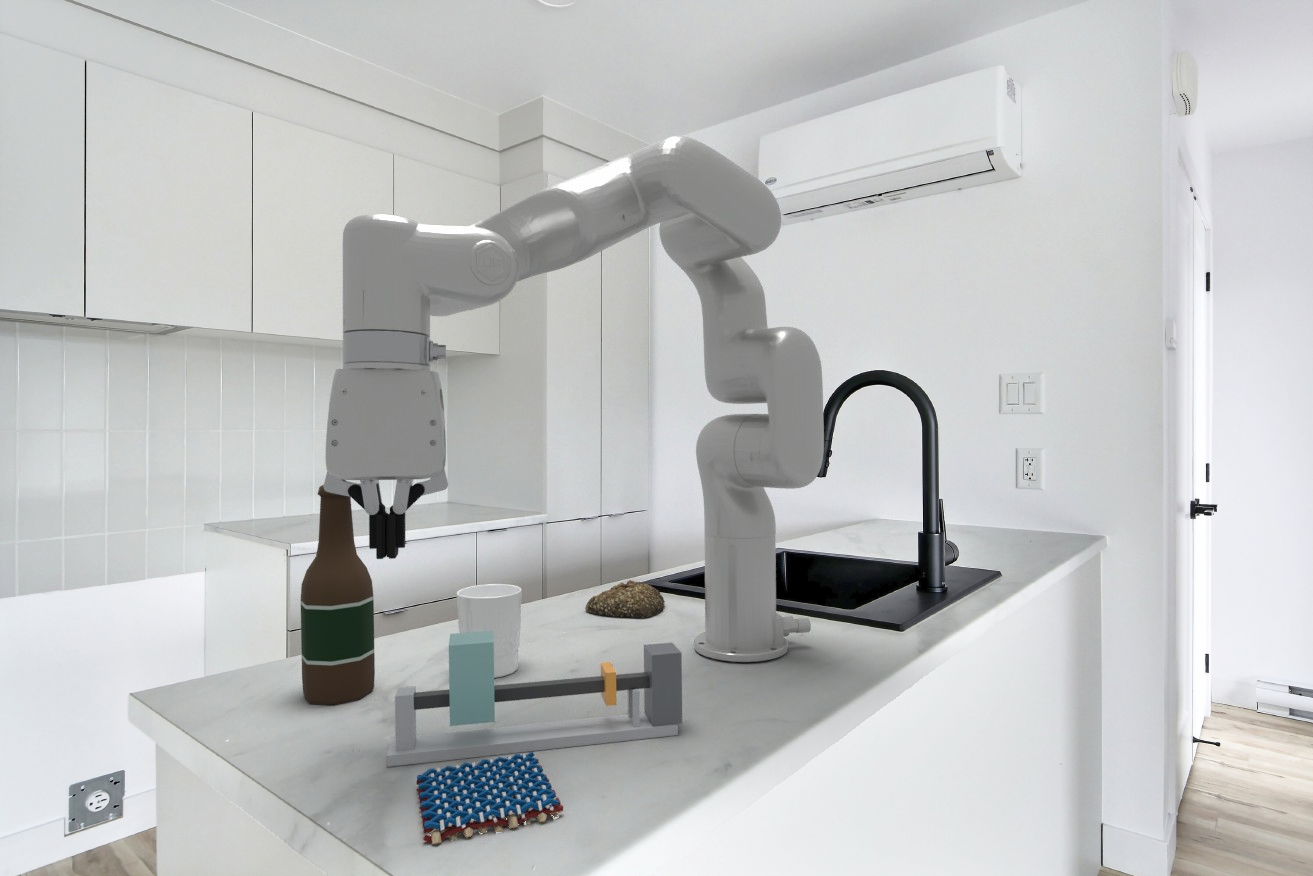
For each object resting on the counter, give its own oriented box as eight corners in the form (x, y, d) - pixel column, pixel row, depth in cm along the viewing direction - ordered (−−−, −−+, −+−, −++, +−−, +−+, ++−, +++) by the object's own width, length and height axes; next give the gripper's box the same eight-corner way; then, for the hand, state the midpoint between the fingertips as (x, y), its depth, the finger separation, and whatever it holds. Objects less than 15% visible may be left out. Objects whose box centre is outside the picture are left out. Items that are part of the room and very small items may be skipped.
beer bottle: (329, 711, 81) (325, 488, 80) (286, 698, 85) (282, 485, 84) (389, 689, 87) (386, 483, 87) (347, 678, 92) (344, 481, 91)
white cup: (507, 682, 89) (506, 598, 89) (446, 679, 91) (445, 596, 91) (531, 662, 97) (530, 584, 97) (474, 659, 99) (473, 583, 98)
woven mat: (567, 826, 58) (567, 800, 58) (424, 856, 54) (423, 828, 54) (538, 768, 68) (538, 746, 68) (415, 791, 64) (414, 767, 64)
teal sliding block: (493, 706, 74) (492, 630, 73) (494, 721, 70) (493, 642, 69) (451, 710, 73) (450, 633, 72) (449, 726, 69) (448, 645, 69)
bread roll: (645, 623, 116) (644, 591, 116) (576, 616, 122) (576, 585, 122) (678, 605, 128) (678, 576, 128) (614, 599, 133) (614, 571, 133)
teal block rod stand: (672, 719, 78) (671, 642, 78) (682, 734, 74) (682, 653, 74) (391, 748, 71) (390, 664, 71) (386, 766, 67) (385, 678, 67)
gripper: (471, 361, 74) (471, 547, 74) (307, 358, 71) (308, 553, 71) (471, 354, 67) (471, 560, 67) (288, 349, 63) (289, 567, 64)
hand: (387, 556), depth 69 cm, fingers closed
